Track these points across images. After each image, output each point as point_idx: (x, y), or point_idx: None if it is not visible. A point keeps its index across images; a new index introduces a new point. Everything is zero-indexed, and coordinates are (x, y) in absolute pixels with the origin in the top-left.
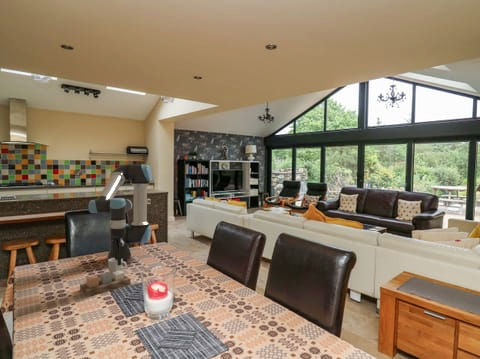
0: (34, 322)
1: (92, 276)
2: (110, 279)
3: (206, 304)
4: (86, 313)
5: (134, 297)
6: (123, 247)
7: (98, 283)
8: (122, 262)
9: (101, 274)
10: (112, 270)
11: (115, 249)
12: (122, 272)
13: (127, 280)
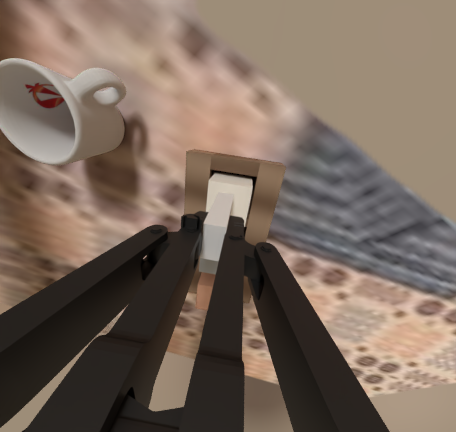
0: (268, 367)
1: (203, 295)
2: None
3: None
4: (328, 326)
5: (389, 224)
6: (356, 406)
7: None
8: (89, 93)
9: (209, 270)
10: (109, 149)
11: (172, 332)
12: (242, 190)
13: (281, 181)
